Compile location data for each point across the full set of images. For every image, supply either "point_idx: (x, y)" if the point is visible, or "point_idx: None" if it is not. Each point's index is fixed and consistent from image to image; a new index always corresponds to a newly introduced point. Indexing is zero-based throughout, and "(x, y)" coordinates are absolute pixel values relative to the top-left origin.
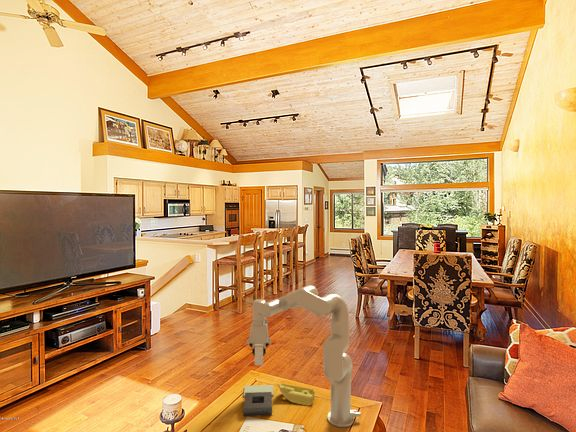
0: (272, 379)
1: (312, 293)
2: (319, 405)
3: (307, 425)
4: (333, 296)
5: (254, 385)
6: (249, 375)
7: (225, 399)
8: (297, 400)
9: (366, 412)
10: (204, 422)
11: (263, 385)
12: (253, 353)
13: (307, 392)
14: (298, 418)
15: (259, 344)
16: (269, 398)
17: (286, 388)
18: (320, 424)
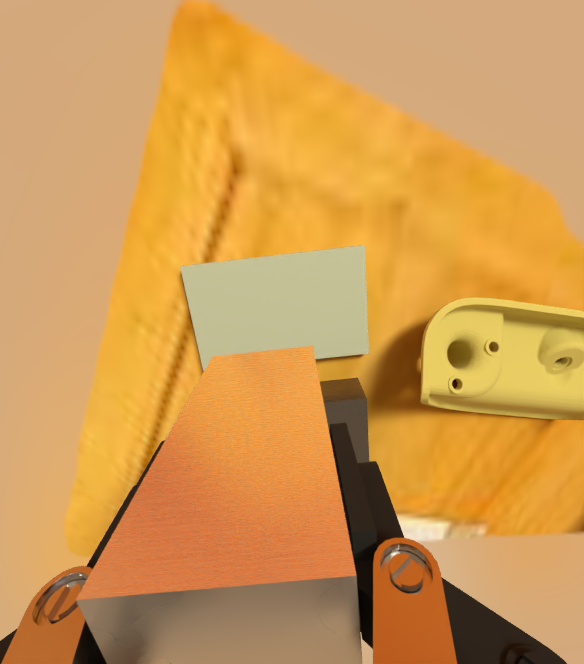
0: (357, 136)
1: None
2: None
3: (499, 528)
4: None
5: (242, 260)
6: (168, 75)
7: (117, 391)
8: (496, 407)
9: None
10: (101, 535)
11: (302, 256)
12: None
13: (576, 358)
14: (472, 496)
15: (234, 619)
16: (356, 456)
17: (465, 397)
18: (551, 521)
